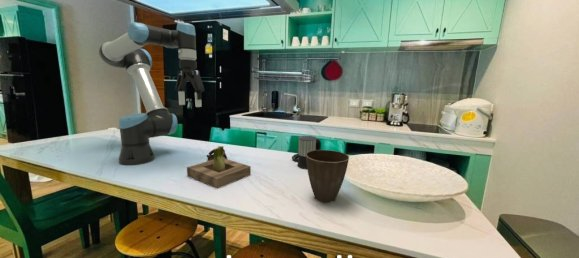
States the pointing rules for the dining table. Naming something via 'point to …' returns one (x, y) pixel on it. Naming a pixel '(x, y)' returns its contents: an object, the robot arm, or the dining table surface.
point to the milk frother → (306, 149)
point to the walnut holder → (218, 173)
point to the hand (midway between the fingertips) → (190, 105)
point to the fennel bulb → (218, 159)
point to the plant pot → (326, 173)
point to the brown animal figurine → (211, 155)
